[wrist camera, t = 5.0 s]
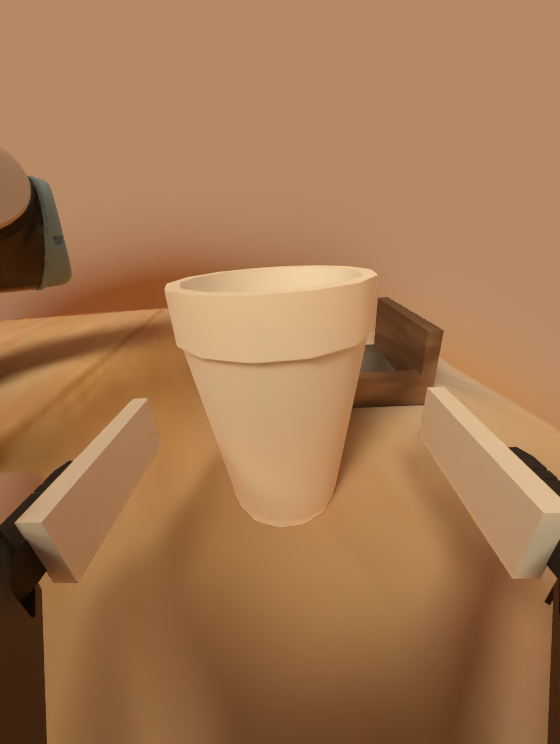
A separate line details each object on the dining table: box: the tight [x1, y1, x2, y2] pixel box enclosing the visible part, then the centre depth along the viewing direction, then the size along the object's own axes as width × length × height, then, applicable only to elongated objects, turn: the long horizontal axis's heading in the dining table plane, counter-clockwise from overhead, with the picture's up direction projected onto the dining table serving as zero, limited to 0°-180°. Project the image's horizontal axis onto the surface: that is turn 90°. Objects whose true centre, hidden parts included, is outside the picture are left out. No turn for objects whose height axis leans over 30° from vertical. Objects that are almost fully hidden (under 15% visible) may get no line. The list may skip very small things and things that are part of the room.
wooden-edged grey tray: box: [352, 297, 444, 408], centre depth 32 cm, size 20×14×7 cm
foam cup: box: [164, 265, 378, 528], centre depth 16 cm, size 10×9×13 cm
